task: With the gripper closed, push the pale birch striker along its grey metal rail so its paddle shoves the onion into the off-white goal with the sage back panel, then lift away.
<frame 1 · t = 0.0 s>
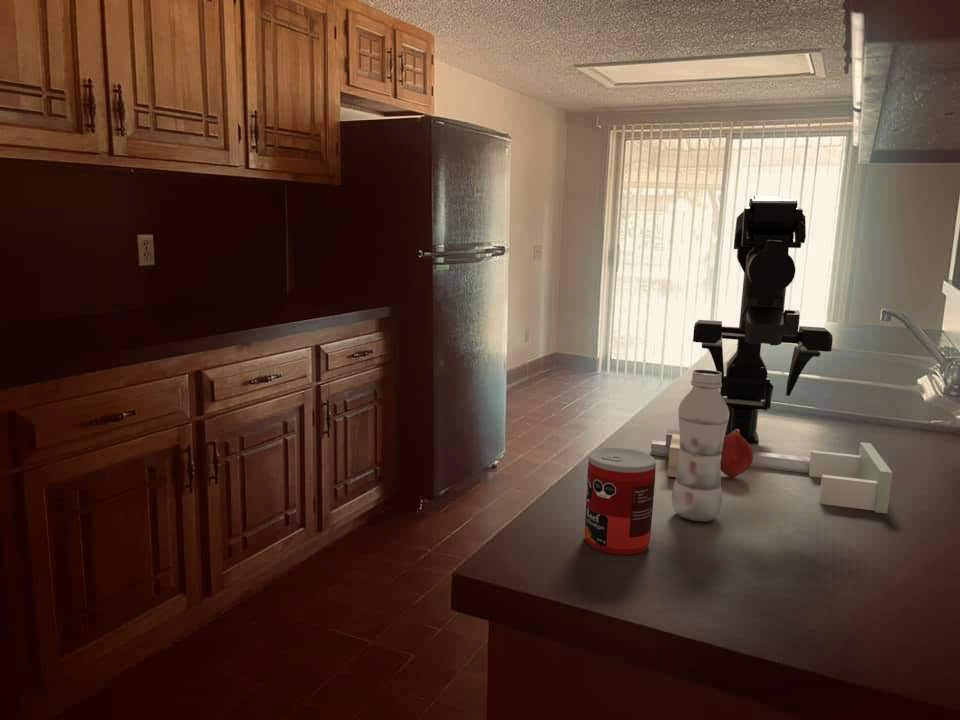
hand: (754, 392, 108), 15 cm above the table, fingers open, 9 cm apart
goal: (839, 491, 110), on the table
striker: (680, 450, 119), point 3 cm above the table, slide at 0.0 cm
canned food: (616, 544, 90), on the table
onion: (730, 479, 115), on the table
rail: (745, 463, 122), on the table
plastic bottle: (694, 518, 98), on the table
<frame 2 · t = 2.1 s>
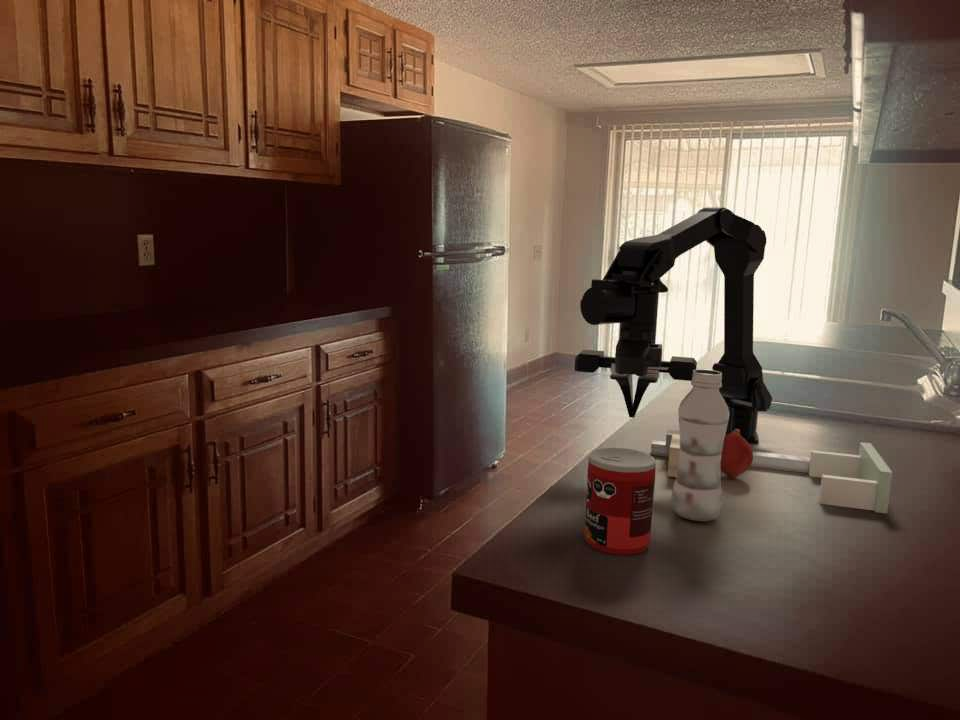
hand: (632, 416, 118), 8 cm above the table, fingers closed
nothing on the table moved.
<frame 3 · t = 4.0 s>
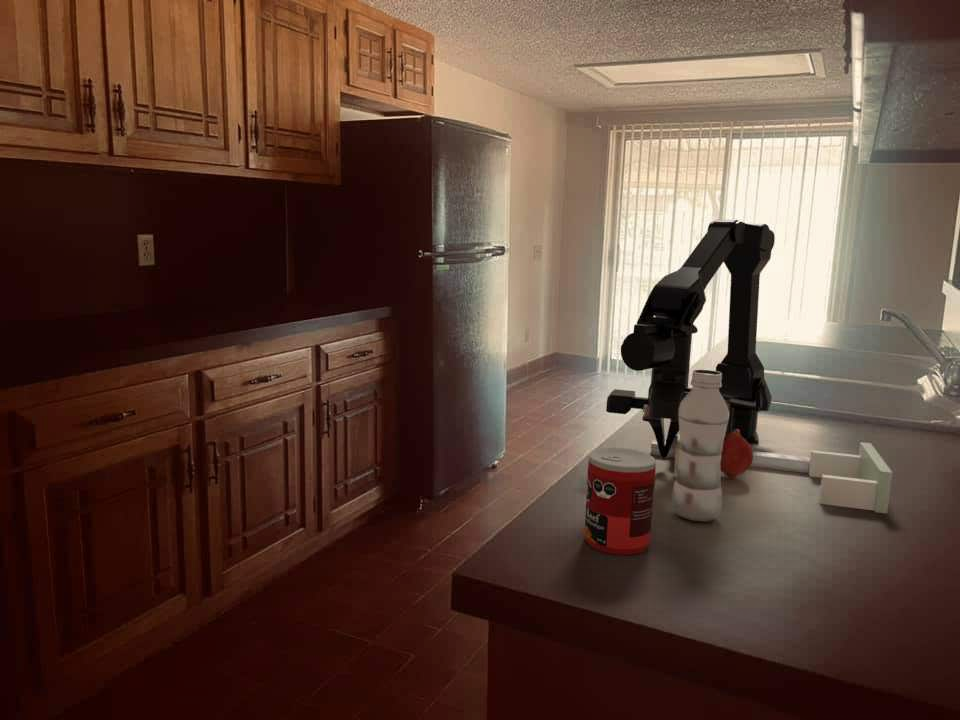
hand: (663, 457, 117), 2 cm above the table, fingers closed
striker: (686, 451, 119), point 3 cm above the table, slide at 0.9 cm, touching gripper
everything else where it was.
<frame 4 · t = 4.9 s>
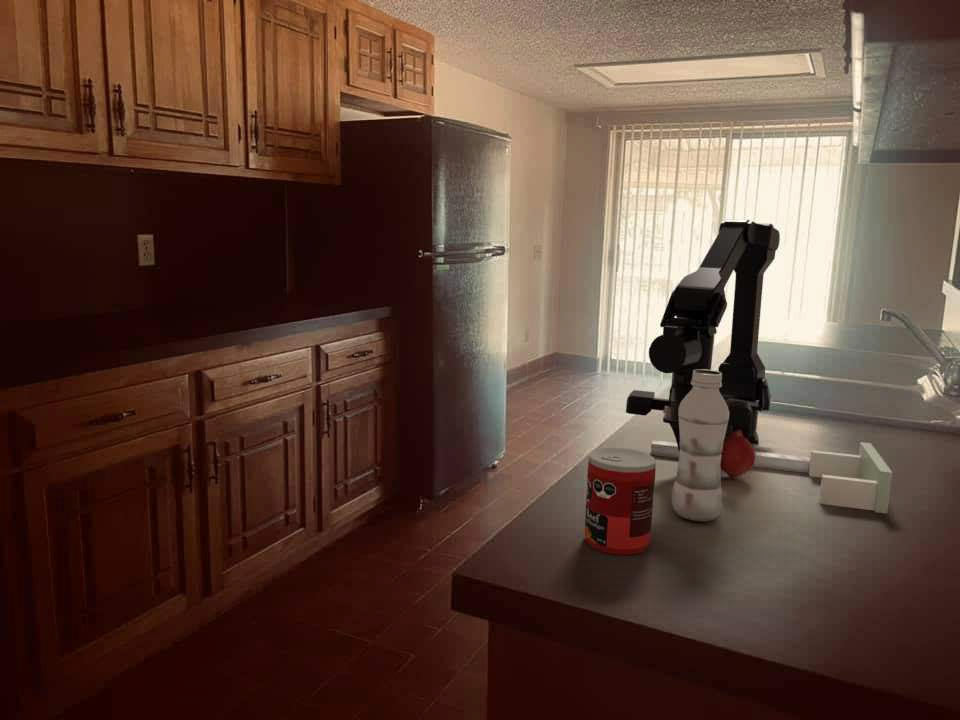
hand: (682, 459, 116), 2 cm above the table, fingers closed
striker: (705, 453, 118), point 3 cm above the table, slide at 3.8 cm, touching gripper, onion
onion: (732, 479, 114), on the table, touching striker
everything else where it was.
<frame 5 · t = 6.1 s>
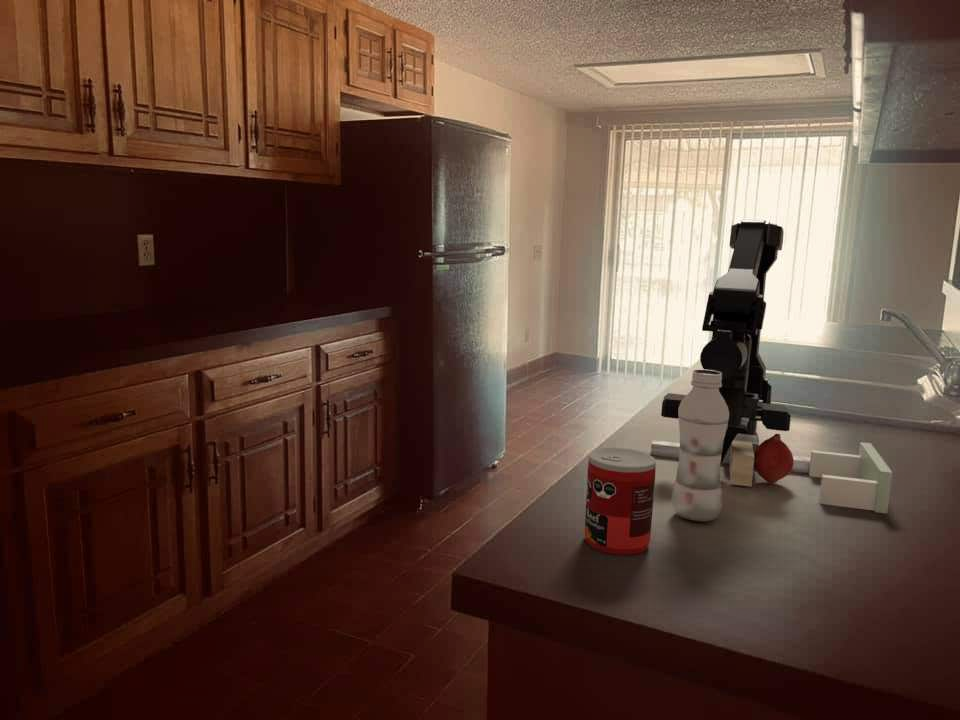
hand: (718, 464, 115), 2 cm above the table, fingers closed
striker: (740, 457, 116), point 3 cm above the table, slide at 9.3 cm, touching gripper, onion
onion: (769, 484, 112), on the table, touching striker
everything else where it was.
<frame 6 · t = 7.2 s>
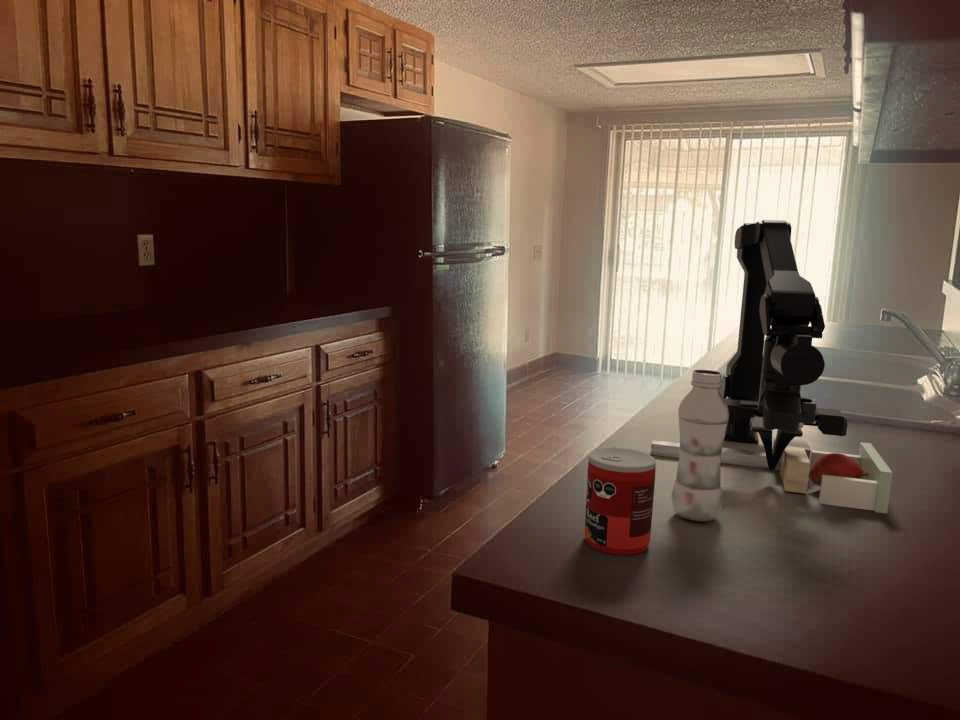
hand: (771, 470, 112), 2 cm above the table, fingers closed
striker: (792, 463, 114), point 3 cm above the table, slide at 17.0 cm, touching gripper
onion: (807, 474, 110), point 2 cm above the table, touching goal
everything else where it was.
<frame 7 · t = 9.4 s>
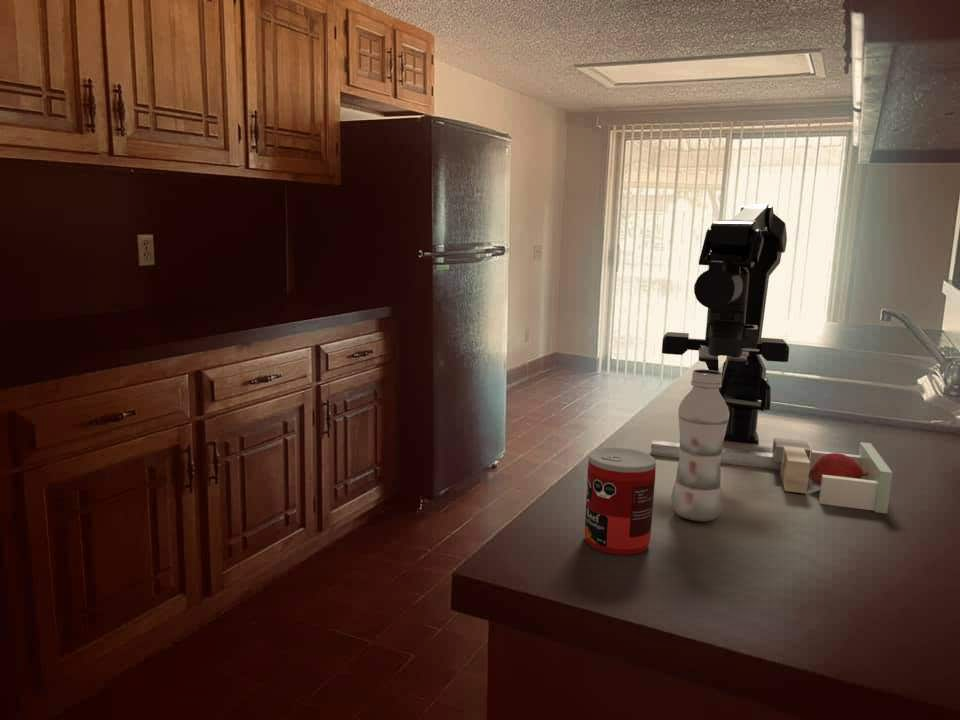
hand: (719, 399, 117), 12 cm above the table, fingers closed
striker: (792, 463, 114), point 3 cm above the table, slide at 17.0 cm
everything else where it was.
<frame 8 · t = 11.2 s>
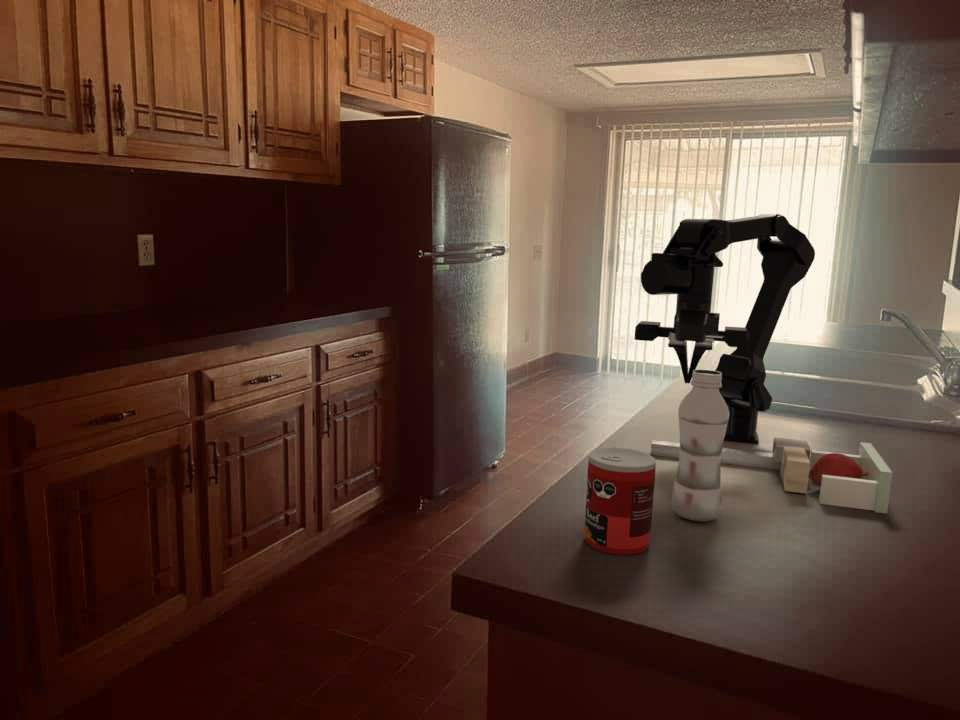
hand: (687, 382, 127), 12 cm above the table, fingers closed
nothing on the table moved.
at the end: onion inside the target area (4.3 cm from its centre), point 2.3 cm above the table; striker slide at 17.0 cm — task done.
